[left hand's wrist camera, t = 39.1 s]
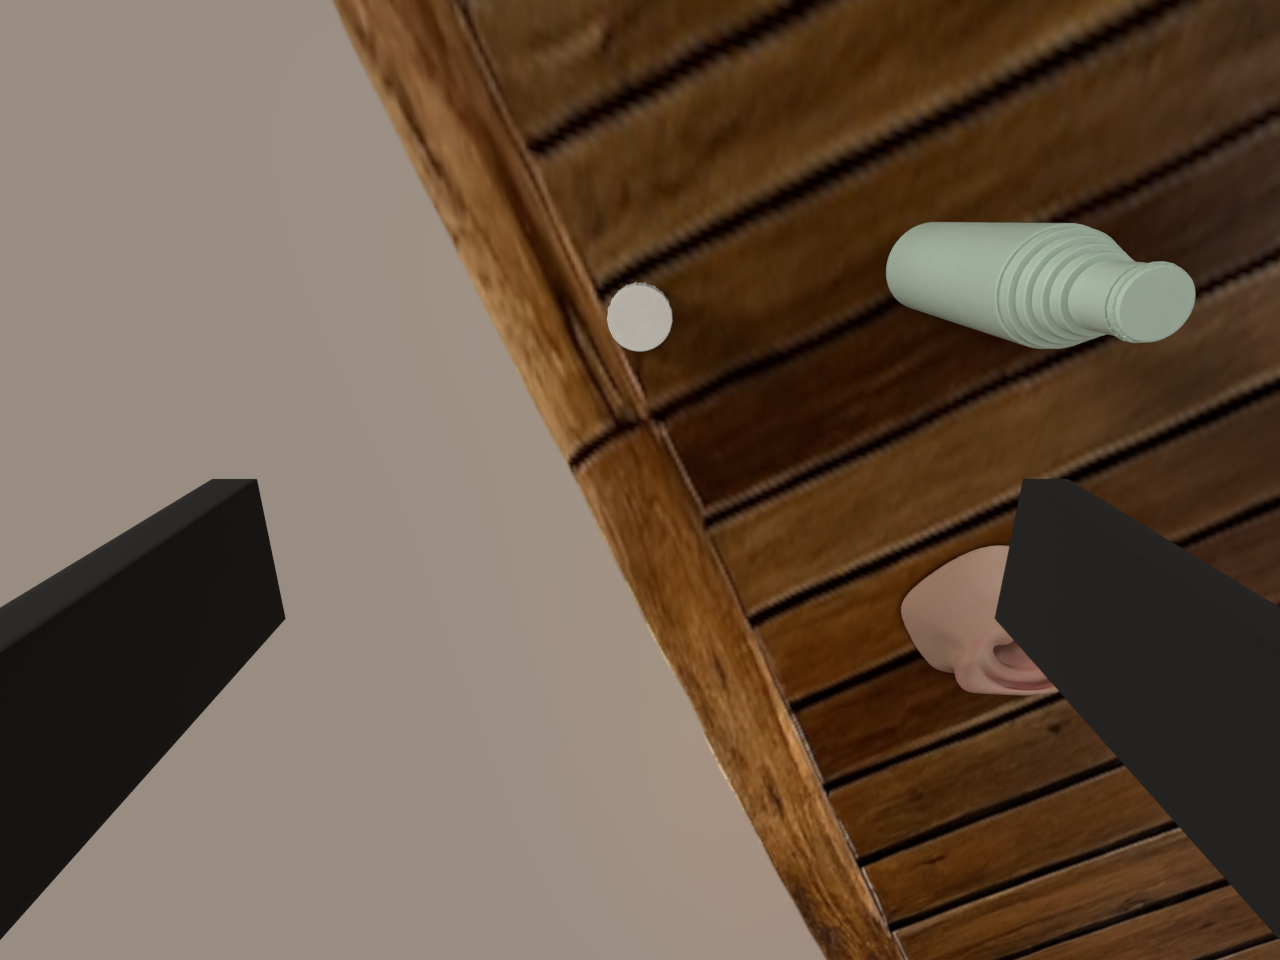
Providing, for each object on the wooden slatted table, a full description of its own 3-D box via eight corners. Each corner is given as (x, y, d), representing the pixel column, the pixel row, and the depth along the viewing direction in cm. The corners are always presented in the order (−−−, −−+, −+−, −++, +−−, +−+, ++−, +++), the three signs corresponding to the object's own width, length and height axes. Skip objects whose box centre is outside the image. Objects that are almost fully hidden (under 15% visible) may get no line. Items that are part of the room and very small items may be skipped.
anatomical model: (892, 661, 47) (1013, 532, 44) (874, 629, 51) (984, 507, 47) (1035, 749, 50) (1159, 633, 46) (1007, 712, 53) (1120, 602, 50)
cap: (601, 337, 44) (600, 343, 42) (616, 274, 42) (615, 277, 40) (662, 353, 44) (663, 359, 42) (678, 290, 43) (680, 293, 41)
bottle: (917, 206, 41) (1149, 194, 22) (987, 247, 42) (1269, 269, 23) (869, 285, 42) (1048, 337, 24) (937, 324, 43) (1163, 403, 25)
